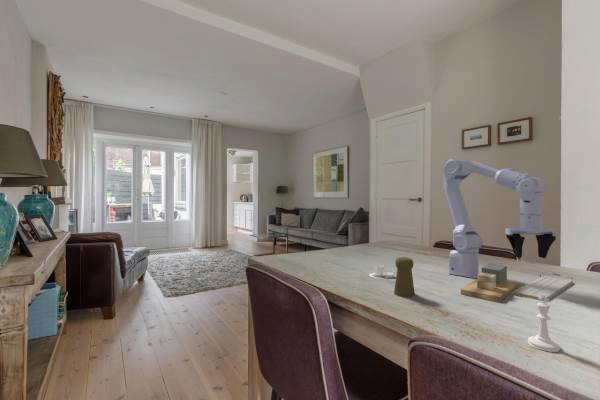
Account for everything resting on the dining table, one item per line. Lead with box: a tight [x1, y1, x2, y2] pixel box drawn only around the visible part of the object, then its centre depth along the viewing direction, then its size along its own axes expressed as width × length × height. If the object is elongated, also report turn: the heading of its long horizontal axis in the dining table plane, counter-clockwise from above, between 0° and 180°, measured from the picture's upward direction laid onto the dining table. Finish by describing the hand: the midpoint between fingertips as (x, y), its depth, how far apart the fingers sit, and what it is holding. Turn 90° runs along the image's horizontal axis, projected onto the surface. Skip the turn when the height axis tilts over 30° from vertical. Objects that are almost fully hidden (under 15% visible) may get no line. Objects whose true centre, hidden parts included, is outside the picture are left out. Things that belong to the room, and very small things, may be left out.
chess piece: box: [527, 295, 561, 353], centre depth 58 cm, size 5×5×10 cm
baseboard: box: [509, 272, 574, 302], centre depth 96 cm, size 30×3×10 cm
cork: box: [393, 256, 416, 298], centre depth 90 cm, size 6×6×11 cm
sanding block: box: [481, 263, 508, 286], centre depth 97 cm, size 5×9×5 cm, turn 134°
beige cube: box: [476, 272, 496, 291], centre depth 90 cm, size 4×4×4 cm
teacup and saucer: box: [368, 264, 395, 280], centre depth 110 cm, size 9×8×4 cm
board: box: [460, 279, 518, 303], centre depth 93 cm, size 10×22×2 cm, turn 134°
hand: (530, 257), depth 94 cm, fingers open, 7 cm apart
